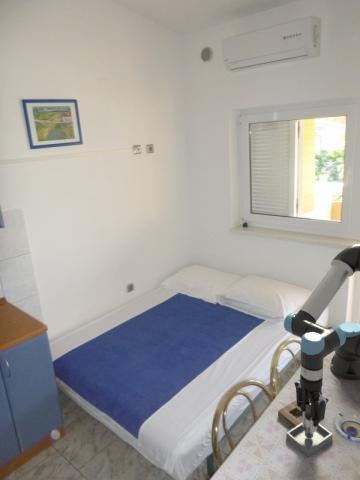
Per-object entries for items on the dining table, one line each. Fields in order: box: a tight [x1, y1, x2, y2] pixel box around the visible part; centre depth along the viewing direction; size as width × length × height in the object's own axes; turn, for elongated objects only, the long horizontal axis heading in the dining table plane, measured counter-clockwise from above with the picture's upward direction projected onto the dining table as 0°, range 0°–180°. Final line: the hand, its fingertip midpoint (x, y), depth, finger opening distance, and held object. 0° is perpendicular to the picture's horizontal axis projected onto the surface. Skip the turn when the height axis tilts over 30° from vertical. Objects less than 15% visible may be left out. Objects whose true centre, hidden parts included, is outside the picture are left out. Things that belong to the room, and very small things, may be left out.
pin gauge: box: [305, 401, 313, 438], centre depth 137 cm, size 3×3×14 cm
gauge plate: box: [277, 399, 303, 429], centre depth 150 cm, size 10×10×2 cm
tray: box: [285, 423, 334, 458], centre depth 139 cm, size 13×10×3 cm
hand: (309, 428), depth 138 cm, fingers closed on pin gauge, 3 cm apart
